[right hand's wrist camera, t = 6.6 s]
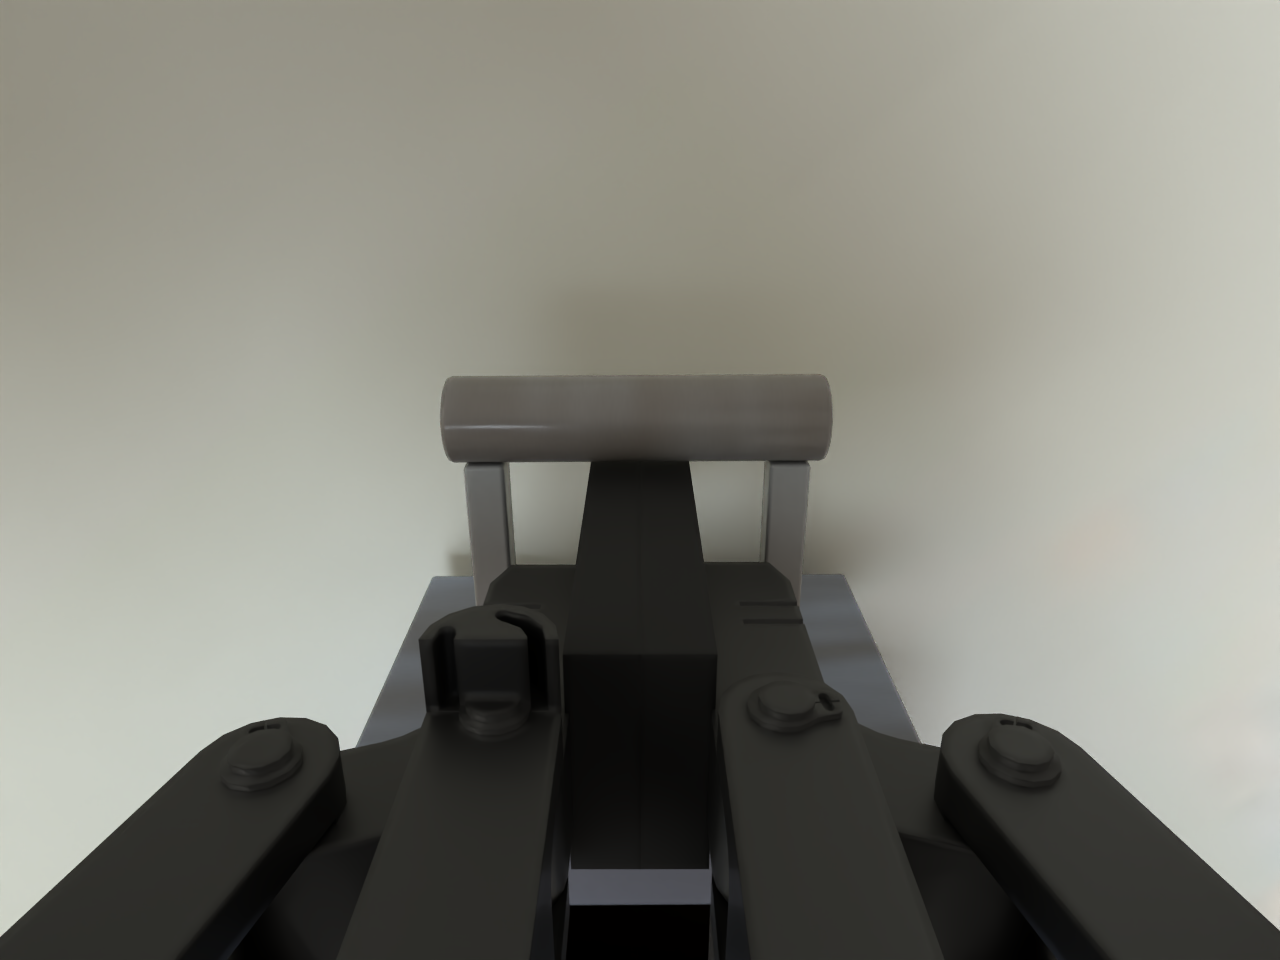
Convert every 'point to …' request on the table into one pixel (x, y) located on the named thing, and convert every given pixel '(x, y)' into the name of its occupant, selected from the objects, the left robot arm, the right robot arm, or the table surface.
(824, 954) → the right robot arm
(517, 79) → the table surface
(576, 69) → the table surface
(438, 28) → the table surface
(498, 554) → the drawer
